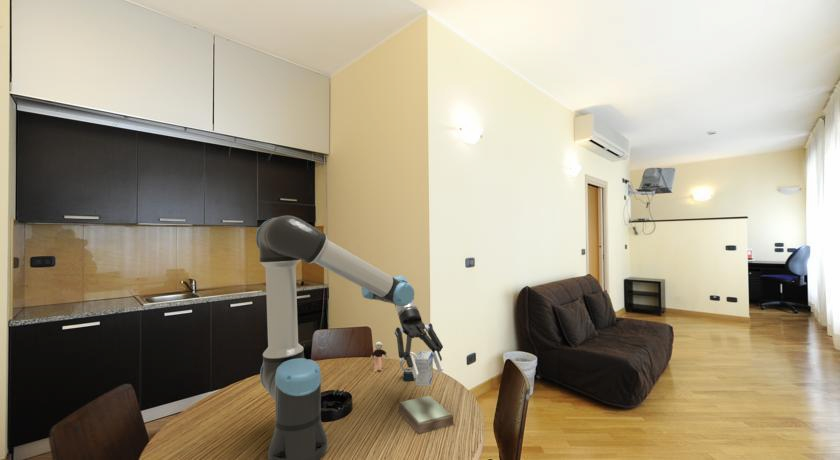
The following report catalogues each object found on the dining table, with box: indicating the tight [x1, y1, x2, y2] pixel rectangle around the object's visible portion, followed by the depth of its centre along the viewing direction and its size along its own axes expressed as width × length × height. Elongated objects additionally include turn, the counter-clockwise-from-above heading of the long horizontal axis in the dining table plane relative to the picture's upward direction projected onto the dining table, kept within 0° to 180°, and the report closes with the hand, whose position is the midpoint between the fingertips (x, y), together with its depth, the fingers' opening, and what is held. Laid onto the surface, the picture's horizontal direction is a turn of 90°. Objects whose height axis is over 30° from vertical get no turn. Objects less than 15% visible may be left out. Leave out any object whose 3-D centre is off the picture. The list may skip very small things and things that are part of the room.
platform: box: [398, 395, 454, 435], centre depth 112 cm, size 12×16×3 cm
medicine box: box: [414, 350, 434, 387], centre depth 113 cm, size 8×4×9 cm, turn 169°
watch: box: [398, 350, 418, 383], centre depth 145 cm, size 6×8×11 cm
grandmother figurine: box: [369, 341, 388, 373], centre depth 155 cm, size 8×4×13 cm, turn 119°
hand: (429, 373), depth 110 cm, fingers closed on medicine box, 8 cm apart
